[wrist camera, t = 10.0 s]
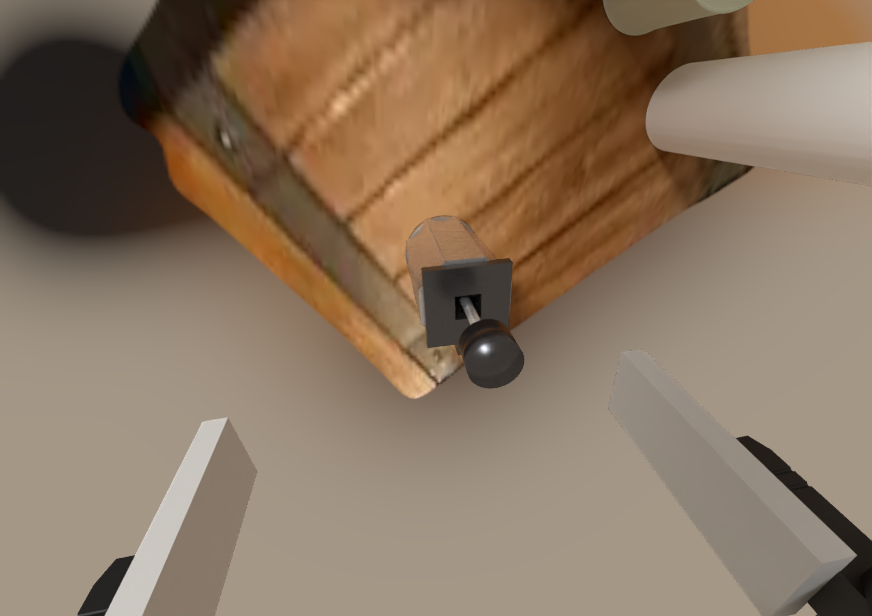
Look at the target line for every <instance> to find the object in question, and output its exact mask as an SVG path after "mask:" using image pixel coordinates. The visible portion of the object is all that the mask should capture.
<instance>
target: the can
mask: <svg viewBox="0 0 872 616" xmlns="http://www.w3.org/2000/svg"><path fill="white" fill-rule="evenodd" d="M752 1H754V0H603V5H604V9H605V12H606V15H607V17H608V19H609V21H610V22H611V24H612V25H613V26H614V27H615V28H616V29H617V30H618V31H620V32H622V33H624V34H627V35H632V36H637V35H643V34H646V33H649V32H651V31H653V30H655V29H659V28H663V27H666V26H671V25H675V24H679V23H683V22H687V21H691V20H695V19H699V18H703V17H708V16H712V15H717V14H725V13H730V12H734V11H736V10H739V9H741V8H743V7H745V6H746V5H748V4H750V3H751V2H752Z"/></svg>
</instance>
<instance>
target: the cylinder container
mask: <svg viewBox="0 0 872 616" xmlns="http://www.w3.org/2000/svg"><path fill="white" fill-rule="evenodd" d="M646 132H647V135H648V138H649V140H650V141H651V143H652V144H653V145H654V146H655V147H657V148H658V149H660V150H663V151H668V152H673V153H679V154H685V155H691V156H697V157H703V158H708V159H714V160H720V161H726V162H732V163H738V164H743V165H749V166H755V167H761V168H767V169H773V170H779V171H784V172H790V173H796V174H802V175H808V176H814V177H819V178H825V179H831V180H836V181H842V182H848V183H854V184H860V185H866V186H871V187H872V42H865V43H856V44H848V45H840V46H831V47H822V48H813V49H805V50H796V51H789V52H779V53H771V54H762V55H754V56H745V57H737V58H728V59H720V60H711V61H703V62H694V63H688V64H685V65H682V66H680V67H678V68H677V69H675V70H674V71H672V72H671V73H670V74H668V75H667V76H666V77H665V78H664V79H663V81H662V82H661V83H660V84H659V86H658V87H657V88H656V90H655V92H654V93H653V95H652V97H651V100H650V102H649V105H648V108H647V113H646Z"/></svg>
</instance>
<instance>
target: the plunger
mask: <svg viewBox="0 0 872 616" xmlns="http://www.w3.org/2000/svg"><path fill="white" fill-rule="evenodd" d="M458 298H459V300H460V302H461V305H462V307H463V309H464V311H465V314H466V316H467V318H468V320H469V323H470V325H469V326H468V327H467V328H466V329H465V330H464V331H463V333H462V334H461V336H460V339H459V350H460V353H461V356H462V359H463V362H464V364H465V367H466V370H467V373H468V375H469V378H470V379H471V381H472V382H473V383H474V384H476V385H478V386H480V387H483V388H498V387H501V386H504V385H506V384H508V383H510V382H511V381H513V380H514V379H515V378H516V377H517V376H518V375H519V374H520V372H521V370H522V368H523V365H524V355H523V353H522V351H521V349H520V348H519V346H518V344H517V343H516V341H515V339H514V338H513V336H512V334H511V333H510V331H509V329H508V328H507V326H506V325H505V324H504V323H502V322H500V321H498V320H495V319H483V320H480V318H479V316H478V314H477V312H476V310H475V308H474V306H473V304H472V302H471V300H470V298H469V296H468V295H466V296H458Z"/></svg>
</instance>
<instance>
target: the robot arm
mask: <svg viewBox="0 0 872 616" xmlns="http://www.w3.org/2000/svg"><path fill="white" fill-rule="evenodd" d="M608 409H609V410H610V411H611V413H612V414H613V415H614V417H615V418H616V419H617V421H618V422H619V423H620V425H621V426H622V427H623V429H624V430H625V432H626V433H627V434H628V436H629V437H630V438H631V440H632V441H633V442H634V444H635V445H636V447H637V448H638V449H639V450H640V452H641V453H642V454H643V456H644V457H645V459H646V460H647V461H648V463H649V464H650V465H651V467H652V468H653V470H654V471H655V472H656V473H657V475H658V476H659V478H660V479H661V480H662V482H663V483H664V484H665V486H666V487H667V488H668V490H669V491H670V492H671V494H672V495H673V496H674V498H675V499H676V501H677V502H678V503H679V505H680V506H681V507H682V509H683V510H684V511H685V513H686V514H687V515H688V517H689V518H690V520H691V521H692V522H693V523H694V525H695V526H696V528H697V529H698V530H699V532H700V533H701V534H702V536H703V537H704V538H705V540H706V541H707V542H708V544H709V545H710V547H711V548H712V549H713V551H714V552H715V553H716V555H717V556H718V557H719V559H720V560H721V561H722V563H723V564H724V566H725V567H726V568H727V569H728V571H729V572H730V574H731V575H732V576H733V578H734V579H735V580H736V582H737V583H738V584H739V586H740V587H741V589H742V590H743V591H744V593H745V594H746V595H747V597H748V598H749V599H750V601H751V602H752V603H753V605H754V606H755V607H756V609H757V610H758V611H759V613H760V614H761V615H762V616H788V615H793V614H796V613H797V612H798V611H799V610H800V609H801V608H802V607H803V606H804V605H805V604H806V603H807V602H808V603H809V605H810V606H811V607H812V608H813V609H814V610H815V612H816V613H817V615H816V616H872V541H871V540H870V539H869V538H868V537H867V536H866V535H865V534H863V533H862V532H861V531H860V530H859V529H858V528H857V527H856V526H855V525H854V524H853V523H851V522H850V521H849V520H848V519H847V518H846V517H845V516H844V515H843V514H842V513H840V512H839V511H838V510H837V509H836V508H835V507H834V506H833V505H832V504H830V503H829V502H828V501H827V500H826V499H825V498H824V497H823V496H822V495H821V494H819V493H818V492H817V491H816V490H815V489H814V488H813V487H810V486H808V484H807V482H806V481H805V480H804V479H803V478H802V477H801V476H799V475H798V474H797V473H796V472H795V471H792V470H791V468H790V466H788V465H787V464H786V463H785V462H784V461H783V460H782V459H781V458H780V457H778V456H777V455H776V454H775V453H774V452H773V451H772V450H771V449H769V448H767V447H765V446H764V445H762V444H760V443H759V442H757V441H755V440H754V439H752V438H750V437H749V436H744V437H739V438H735V437H734V436H733V435H732V434H731V433H730V432H729V431H727V430H726V429H725V428H724V427H723V426H722V425H721V424H720V423H719V422H718V421H717V420H716V419H715V418H714V417H713V416H712V415H711V414H710V413H709V412H708V411H707V410H706V409H705V408H704V407H702V406H701V405H700V404H699V403H698V402H697V401H696V400H695V399H694V398H693V397H692V396H691V395H690V394H689V393H688V392H687V391H686V390H685V389H684V388H683V387H682V386H681V385H680V384H679V383H678V382H677V381H676V380H674V379H673V378H672V377H671V376H670V375H669V374H668V373H667V372H666V371H665V370H664V369H663V368H662V367H661V366H660V365H659V364H658V363H657V362H656V361H655V360H654V359H653V358H652V357H650V356H649V355H648V354H647V353H646V352H645V351H644V350H643V349H636V350H630V351H624V352H622V353H621V356H620V360H619V364H618V369H617V373H616V377H615V382H614V386H613V390H612V394H611V399H610V403H609V407H608ZM256 474H257V470H256V468H255V466H254V464H253V462H252V460H251V459H250V457H249V455H248V453H247V451H246V449H245V448H244V446H243V444H242V442H241V440H240V439H239V437H238V435H237V433H236V431H235V429H234V427H233V426H232V424H231V422H230V420H229V418H221V419H215V420H209V421H203V422H202V424H201V426H200V428H199V430H198V432H197V434H196V436H195V438H194V440H193V442H192V444H191V446H190V448H189V450H188V452H187V454H186V456H185V458H184V460H183V462H182V464H181V466H180V468H179V470H178V471H177V473H176V475H175V478H174V479H173V481H172V484H171V485H170V487H169V489H168V492H167V493H166V496H165V497H164V499H163V501H162V503H161V505H160V507H159V509H158V511H157V513H156V515H155V517H154V519H153V521H152V523H151V525H150V527H149V529H148V531H147V533H146V535H145V537H144V539H143V541H142V543H141V545H140V547H139V549H138V551H137V553H136V555H134V556H129V557H124V558H119V559H116V560H115V561H114V562H113V563H112V564H111V566H110V567H109V568H108V569H107V570H106V571H105V572H104V574H103V575H102V576H101V577H100V578H99V579H98V581H97V582H96V583H95V584H94V586H93V587H92V589H91V591H90V592H89V594H88V596H87V598H86V600H85V601H84V603H83V605H82V607H81V609H80V611H79V612H78V616H215V613H216V610H217V606H218V603H219V599H220V596H221V593H222V589H223V586H224V583H225V579H226V576H227V572H228V569H229V566H230V562H231V559H232V556H233V552H234V549H235V545H236V542H237V538H238V535H239V532H240V528H241V525H242V522H243V518H244V515H245V511H246V508H247V505H248V501H249V498H250V495H251V491H252V488H253V485H254V481H255V478H256Z"/></svg>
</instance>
